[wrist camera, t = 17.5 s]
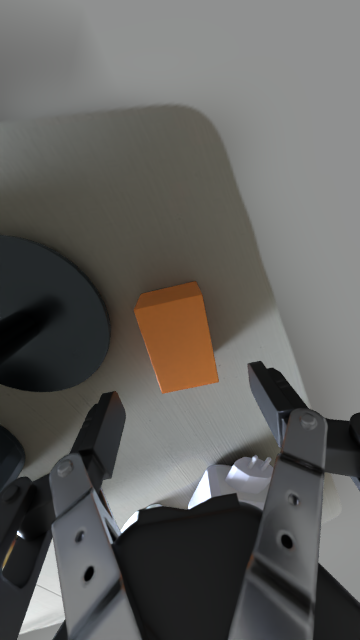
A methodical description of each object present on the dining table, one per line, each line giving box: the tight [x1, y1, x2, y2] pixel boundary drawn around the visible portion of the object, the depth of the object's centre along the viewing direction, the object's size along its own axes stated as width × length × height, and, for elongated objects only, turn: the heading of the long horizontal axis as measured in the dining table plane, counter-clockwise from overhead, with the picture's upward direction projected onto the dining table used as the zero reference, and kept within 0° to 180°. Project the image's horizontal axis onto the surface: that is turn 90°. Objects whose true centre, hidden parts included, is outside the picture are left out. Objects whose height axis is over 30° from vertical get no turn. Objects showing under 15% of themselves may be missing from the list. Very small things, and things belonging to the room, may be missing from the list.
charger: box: [188, 455, 274, 510], centre depth 27 cm, size 5×9×15 cm
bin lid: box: [0, 235, 111, 392], centre depth 16 cm, size 15×15×6 cm
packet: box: [134, 281, 219, 394], centre depth 18 cm, size 8×5×4 cm, turn 12°
